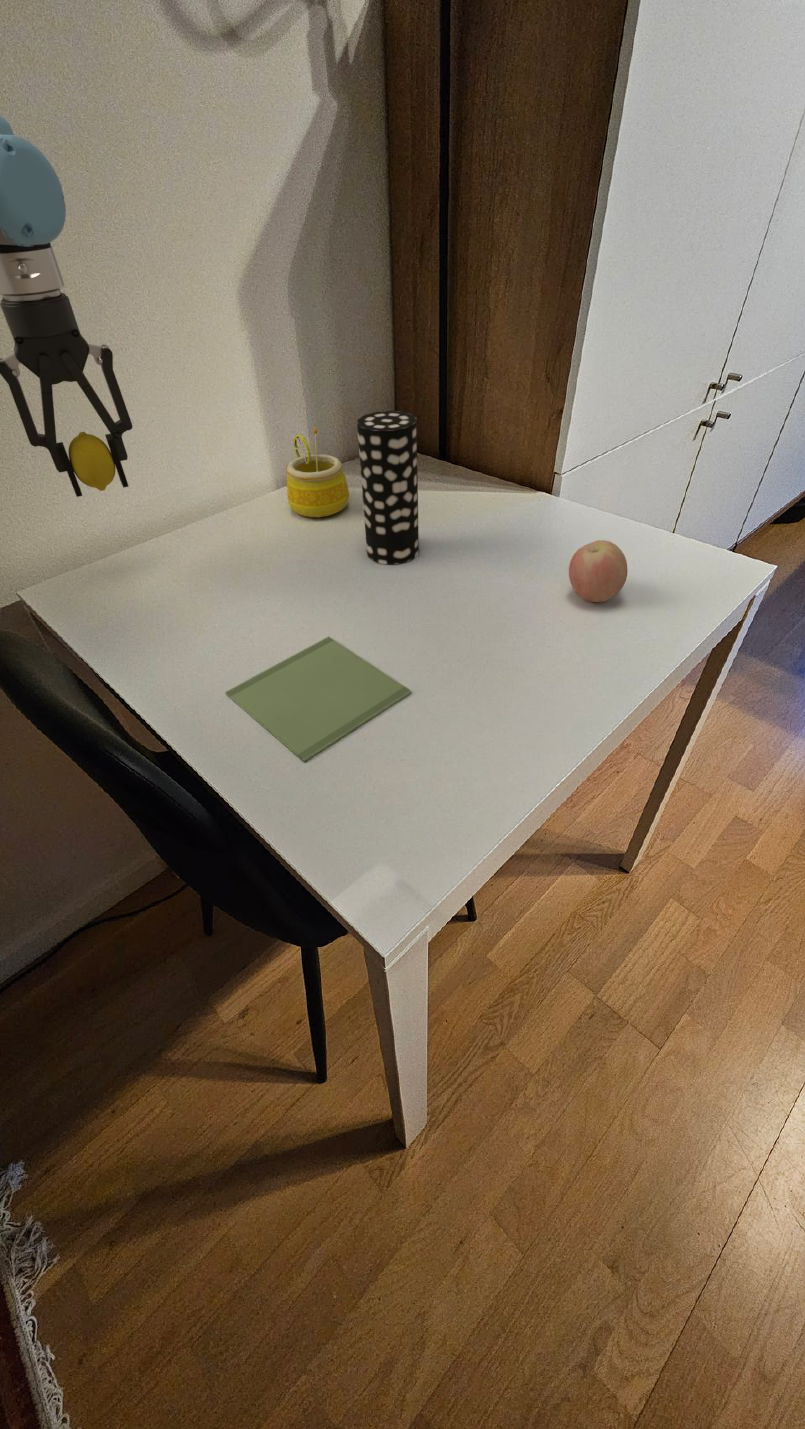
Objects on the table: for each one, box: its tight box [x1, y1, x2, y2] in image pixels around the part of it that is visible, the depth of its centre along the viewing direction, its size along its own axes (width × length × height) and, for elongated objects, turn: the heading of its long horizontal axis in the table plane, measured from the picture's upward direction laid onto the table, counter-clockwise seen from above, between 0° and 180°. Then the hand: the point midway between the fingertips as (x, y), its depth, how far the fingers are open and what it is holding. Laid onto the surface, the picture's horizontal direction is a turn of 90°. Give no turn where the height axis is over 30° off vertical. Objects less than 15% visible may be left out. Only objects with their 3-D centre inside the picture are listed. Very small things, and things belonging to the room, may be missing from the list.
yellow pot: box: [285, 427, 350, 518], centre depth 110 cm, size 13×11×12 cm
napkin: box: [224, 636, 412, 763], centre depth 76 cm, size 16×16×1 cm
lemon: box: [68, 431, 116, 492], centre depth 87 cm, size 6×6×8 cm
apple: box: [568, 539, 628, 603], centre depth 87 cm, size 8×8×8 cm
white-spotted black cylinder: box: [356, 410, 420, 565], centre depth 94 cm, size 8×8×20 cm
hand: (101, 488), depth 89 cm, fingers closed on lemon, 6 cm apart
